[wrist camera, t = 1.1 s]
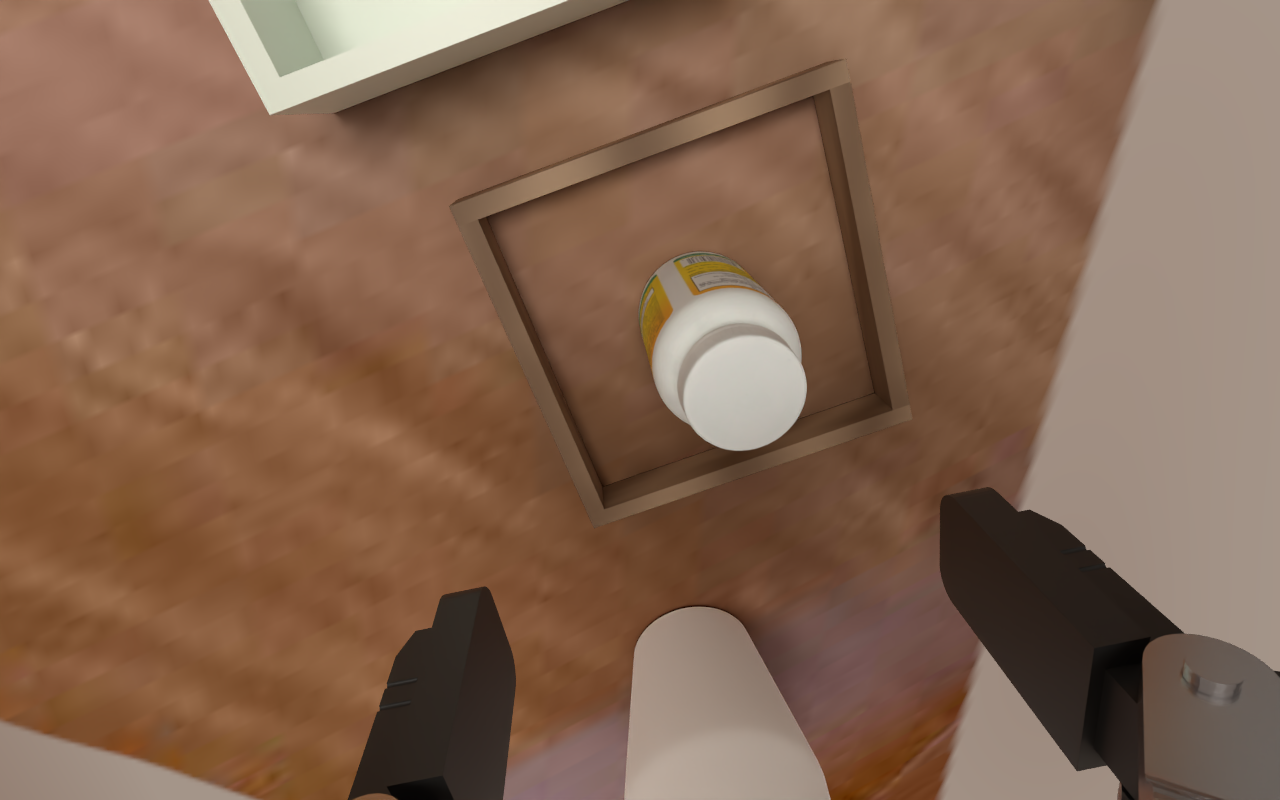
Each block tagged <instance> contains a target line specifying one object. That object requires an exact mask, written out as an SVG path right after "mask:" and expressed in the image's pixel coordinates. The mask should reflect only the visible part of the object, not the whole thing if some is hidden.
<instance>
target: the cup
mask: <svg viewBox="0 0 1280 800" xmlns="http://www.w3.org/2000/svg"><path fill="white" fill-rule="evenodd" d="M624 800H831V799H830V796H829V792H828V788H827V784H826V781H825V777H824V774H823V771H822V769H821V767H820V765H819V762H818V760H817V758H816V757H815V755H814V753H813V751H812V749H811V747H810V746H809V744H808V742H807V740H806V738H805V736H804V734H803V733H802V731H801V729H800V727H799V725H798V724H797V722H796V720H795V718H794V716H793V714H792V713H791V711H790V709H789V707H788V705H787V704H786V702H785V700H784V698H783V696H782V694H781V693H780V691H779V689H778V687H777V685H776V683H775V682H774V680H773V678H772V676H771V674H770V673H769V671H768V669H767V667H766V665H765V663H764V662H763V660H762V658H761V656H760V654H759V653H758V651H757V649H756V647H755V645H754V643H753V642H752V640H751V638H750V636H749V634H748V633H747V631H746V629H745V627H744V626H743V625H742V623H741V622H740V621H739V620H738V619H736V618H735V617H734V616H732V615H731V614H729V613H727V612H724V611H722V610H719V609H715V608H710V607H688V608H683V609H679V610H675V611H673V612H670V613H668V614H665V615H664V616H662V617H660V618H658V619H657V620H655V621H654V622H653V623H652V624H650V625H649V626H648V627H647V628H646V629H645V631H644V632H643V633H642V635H641V636H640V638H639V639H638V642H637V644H636V647H635V651H634V663H633V677H632V692H631V706H630V721H629V735H628V750H627V764H626V780H625V795H624Z"/></svg>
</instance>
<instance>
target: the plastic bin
mask: <svg viewBox="0 0 1280 800" xmlns="http://www.w3.org/2000/svg"><path fill="white" fill-rule="evenodd" d="M626 1H628V0H209V2H210V4H211V6H212V7H213V9H214V11H215V13H216V15H217V17H218V19H219V21H220V22H221V24H222V26H223V28H224V30H225V32H226V34H227V36H228V37H229V39H230V41H231V43H232V45H233V47H234V49H235V51H236V52H237V54H238V56H239V58H240V60H241V62H242V64H243V66H244V67H245V69H246V71H247V73H248V75H249V77H250V79H251V81H252V83H253V84H254V86H255V88H256V90H257V92H258V94H259V96H260V98H261V99H262V101H263V103H264V105H265V107H266V109H267V111H268V113H269V114H270V115H293V114H331V113H336V112H338V111H341V110H344V109H346V108H349V107H351V106H354V105H357V104H359V103H362V102H364V101H367V100H370V99H372V98H375V97H378V96H380V95H383V94H385V93H388V92H391V91H393V90H396V89H398V88H401V87H404V86H406V85H409V84H411V83H414V82H417V81H419V80H422V79H425V78H427V77H430V76H432V75H435V74H438V73H440V72H443V71H445V70H448V69H451V68H453V67H456V66H458V65H461V64H464V63H466V62H469V61H472V60H474V59H477V58H479V57H482V56H485V55H487V54H490V53H492V52H495V51H498V50H500V49H503V48H505V47H508V46H511V45H513V44H516V43H519V42H521V41H524V40H526V39H529V38H532V37H534V36H537V35H539V34H542V33H545V32H547V31H550V30H552V29H555V28H558V27H560V26H563V25H566V24H568V23H571V22H573V21H576V20H579V19H581V18H584V17H586V16H589V15H592V14H594V13H597V12H599V11H602V10H605V9H607V8H610V7H613V6H615V5H618V4H620V3H623V2H626Z"/></svg>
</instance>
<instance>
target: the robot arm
mask: <svg viewBox="0 0 1280 800" xmlns="http://www.w3.org/2000/svg"><path fill="white" fill-rule="evenodd" d="M940 572H941V577H942V581H943V584H944V587H945V589H946V592H947V594H948V596H949V598H950V600H951V601H952V603H953V604H954V606H955V607H956V608H957V610H958V611H959V612H960V614H961V615H962V616H963V618H964V619H965V620H966V622H967V623H968V624H969V626H970V627H971V629H972V630H973V631H974V633H975V634H976V635H977V637H978V638H979V639H980V641H981V642H982V643H983V645H984V646H985V647H986V649H987V650H988V652H989V653H990V654H991V655H992V657H993V658H994V659H995V661H996V662H997V664H998V665H999V666H1000V668H1001V669H1002V670H1003V672H1004V673H1005V674H1006V676H1007V677H1008V678H1009V680H1010V681H1011V683H1012V684H1013V685H1014V687H1015V688H1016V689H1017V691H1018V692H1019V693H1020V695H1021V696H1022V697H1023V699H1024V700H1025V701H1026V703H1027V704H1028V706H1029V707H1030V708H1031V709H1032V711H1033V712H1034V713H1035V715H1036V716H1037V718H1038V719H1039V720H1040V722H1041V723H1042V725H1043V726H1044V727H1045V729H1046V730H1047V731H1048V733H1049V734H1050V735H1051V737H1052V738H1053V739H1054V741H1055V742H1056V743H1057V745H1058V746H1059V748H1060V749H1061V750H1062V752H1063V753H1064V754H1065V755H1066V757H1067V758H1068V760H1069V761H1070V762H1071V764H1072V765H1073V766H1074V768H1075V769H1076V771H1081V770H1085V769H1091V768H1096V767H1100V766H1106V765H1107V766H1108V767H1109V768H1110V769H1111V771H1112V772H1113V773H1114V774H1115V776H1116V777H1117V778H1118V779H1119V781H1120V783H1119V789H1118V796H1117V800H1280V672H1278V671H1273V670H1272V669H1271V668H1270V667H1269V666H1267V665H1266V664H1265V663H1264V662H1263V661H1261V660H1260V659H1258V658H1257V657H1255V656H1254V655H1252V654H1250V653H1249V652H1247V651H1245V650H1243V649H1241V648H1239V647H1237V646H1234V645H1232V644H1230V643H1227V642H1224V641H1221V640H1218V639H1215V638H1211V637H1207V636H1201V635H1195V634H1185V633H1183V632H1182V631H1181V630H1180V629H1179V628H1178V627H1177V626H1176V625H1174V624H1173V623H1172V622H1171V621H1170V620H1169V619H1168V618H1167V617H1165V616H1164V615H1163V614H1162V613H1161V612H1160V611H1159V610H1157V609H1156V608H1155V607H1154V606H1153V605H1152V604H1151V603H1149V602H1148V601H1147V600H1146V599H1145V598H1144V597H1143V596H1142V595H1140V594H1139V593H1138V592H1137V591H1136V590H1135V589H1134V588H1132V587H1131V586H1130V585H1129V584H1128V583H1127V582H1126V581H1125V580H1123V579H1122V578H1121V577H1120V576H1119V575H1118V574H1117V573H1116V572H1114V571H1113V570H1112V569H1111V568H1106V566H1105V563H1104V562H1103V561H1102V560H1101V559H1100V558H1099V557H1097V556H1096V555H1095V554H1094V553H1093V552H1092V551H1091V550H1086V548H1085V545H1084V544H1083V543H1082V542H1080V541H1079V540H1078V539H1077V538H1076V537H1075V536H1074V535H1072V534H1071V533H1070V532H1069V531H1068V530H1067V529H1066V528H1064V527H1063V526H1062V525H1060V524H1058V523H1056V522H1054V521H1052V520H1050V519H1048V518H1046V517H1044V516H1042V515H1040V514H1038V513H1035V512H1033V511H1031V510H1026V511H1021V512H1018V511H1017V510H1016V509H1015V508H1013V507H1012V506H1011V505H1010V504H1009V503H1008V502H1007V501H1006V500H1005V499H1004V498H1003V497H1002V496H1001V495H1000V494H999V493H997V492H996V491H995V490H994V489H992V488H989V487H986V488H981V489H976V490H971V491H966V492H961V493H956V494H951V495H946V496H944V497H943V498H942V500H941V505H940ZM515 687H516V676H515V665H514V659H513V655H512V651H511V648H510V645H509V642H508V639H507V637H506V634H505V631H504V628H503V625H502V622H501V620H500V617H499V614H498V611H497V608H496V605H495V603H494V600H493V597H492V595H491V592H490V590H489V589H488V588H487V587H480V588H475V589H470V590H465V591H460V592H455V593H450V594H445V595H443V596H442V597H441V599H440V602H439V605H438V608H437V612H436V615H435V619H434V622H433V626H432V628H428V629H423V630H418V631H415V633H414V634H413V635H412V636H411V638H410V639H409V640H408V642H407V643H406V644H405V645H404V647H403V648H402V649H401V651H400V652H399V653H398V655H397V656H396V658H395V661H394V664H393V667H392V670H391V673H390V676H389V679H388V682H387V689H385V691H384V693H383V696H382V699H381V702H380V705H379V707H380V711H379V712H377V714H376V717H375V720H374V723H373V726H372V729H371V732H370V735H369V738H368V741H367V744H366V747H365V750H364V753H363V756H362V759H361V762H360V765H359V768H358V771H357V774H356V777H355V780H354V783H353V786H352V789H351V792H350V795H349V798H348V800H503V793H504V784H505V776H506V767H507V758H508V749H509V741H510V732H511V723H512V714H513V705H514V697H515Z"/></svg>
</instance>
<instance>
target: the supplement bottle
mask: <svg viewBox="0 0 1280 800" xmlns="http://www.w3.org/2000/svg"><path fill="white" fill-rule="evenodd" d="M639 325H640V330H641V335H642V338H643V341H644V344H645V348H646V352H647V355H648V359H649V363H650V367H651V371H652V375H653V378H654V382H655V385H656V388H657V390H658V392H659V395H660V397H661V398H662V400H663V402H664V403H665V404H666V406H667V407H668V408H669V409H670V410H671V412H673V413H674V414H675V415H676V416H677V417H678V418H680V419H681V420H683V421H684V422H686V423H688V424H689V425H691V427H692V428H693V429H694V431H695V432H696V433H697V434H698V435H699V436H700V437H702V438H703V439H704V440H705V441H707V442H709V443H711V444H712V445H715V446H717V447H719V448H723V449H727V450H734V451H744V450H752V449H756V448H760V447H763V446H765V445H768V444H770V443H771V442H773V441H775V440H777V439H778V438H780V437H781V436H782V435H783V434H784V433H786V432H787V431H788V430H789V429H790V428H791V427H792V425H793V424H794V423H795V422H796V420H797V418H798V417H799V415H800V413H801V411H802V408H803V406H804V403H805V399H806V393H807V383H806V376H805V372H804V369H803V366H802V365H801V359H802V353H801V344H800V339H799V336H798V332H797V330H796V328H795V325H794V323H793V322H792V320H791V319H790V317H789V316H788V314H787V313H786V312H785V311H784V310H783V308H782V307H781V306H780V305H779V304H778V303H777V302H776V301H775V300H774V299H773V298H772V297H771V296H770V295H769V294H768V293H767V292H766V291H765V290H764V289H763V288H762V287H761V286H760V285H759V284H758V283H757V282H756V281H755V280H754V279H753V278H752V277H751V276H750V275H749V274H748V273H747V272H746V271H745V270H744V269H743V268H742V267H741V266H740V265H738V264H737V263H736V262H734V261H733V260H731V259H729V258H727V257H725V256H723V255H720V254H716V253H712V252H703V251H701V252H690V253H685V254H682V255H679V256H677V257H675V258H673V259H671V260H669V261H668V262H666V263H665V264H663V265H662V266H661V267H660V268H659V269H657V271H656V272H655V273H654V274H653V275H652V276H651V278H650V279H649V280H648V282H647V284H646V286H645V288H644V290H643V293H642V296H641V300H640V304H639Z"/></svg>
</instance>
